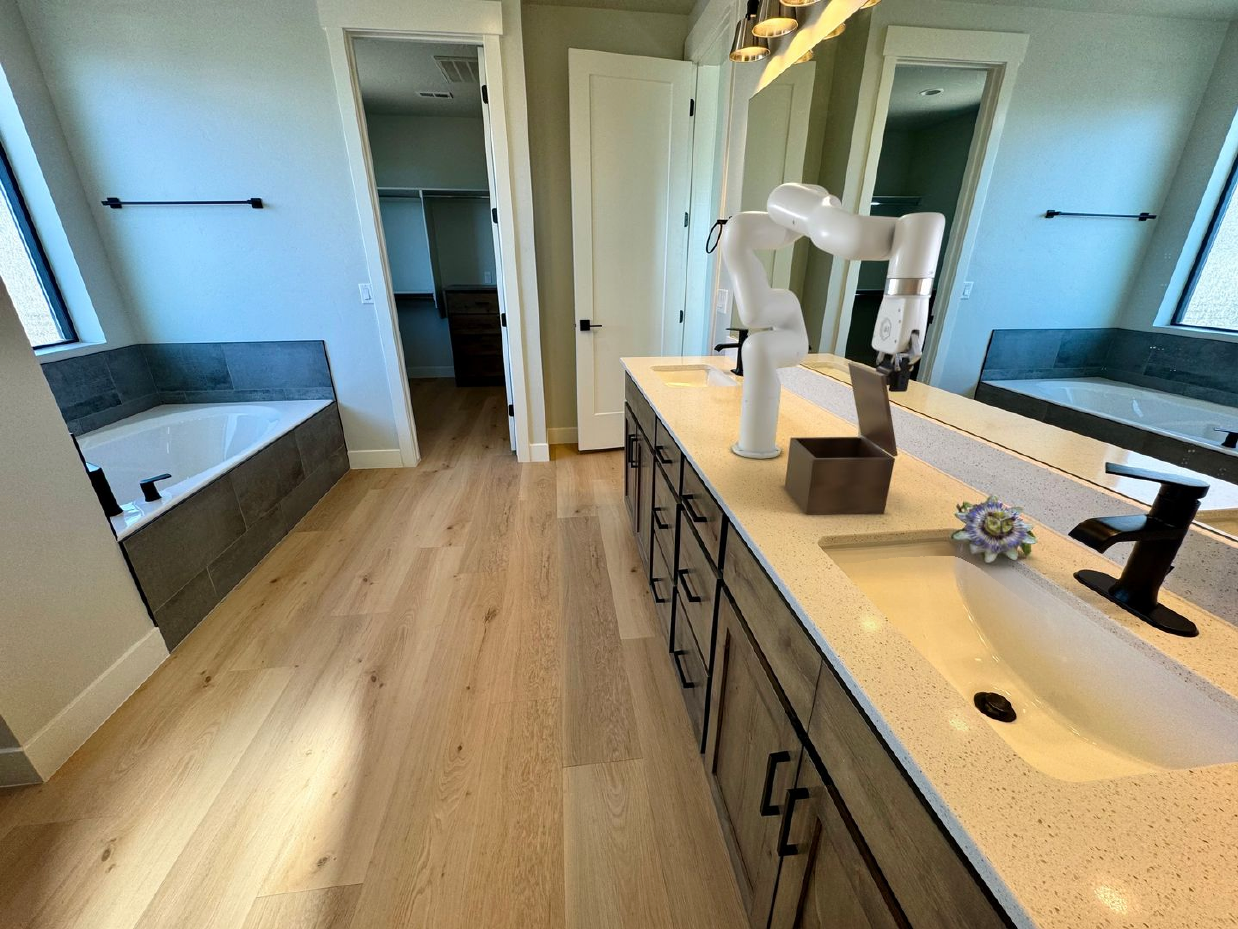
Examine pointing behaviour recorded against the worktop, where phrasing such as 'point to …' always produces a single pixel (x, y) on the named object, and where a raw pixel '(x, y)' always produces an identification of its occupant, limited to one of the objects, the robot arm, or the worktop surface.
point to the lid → (873, 405)
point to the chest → (838, 475)
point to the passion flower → (994, 529)
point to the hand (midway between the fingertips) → (889, 387)
